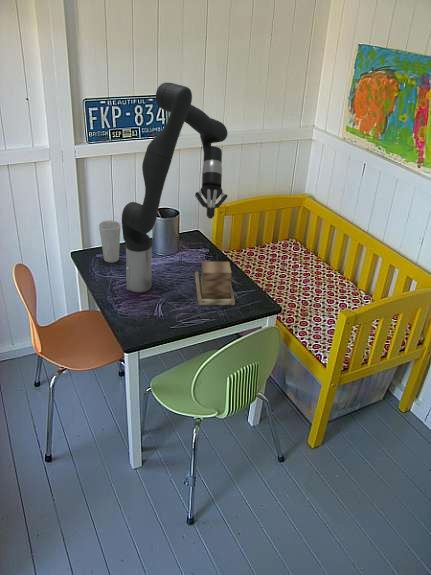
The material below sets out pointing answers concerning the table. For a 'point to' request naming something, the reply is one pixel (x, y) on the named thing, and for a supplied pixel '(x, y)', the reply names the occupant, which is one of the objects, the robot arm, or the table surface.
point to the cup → (110, 240)
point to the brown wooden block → (215, 280)
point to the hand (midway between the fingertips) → (210, 217)
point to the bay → (212, 301)
